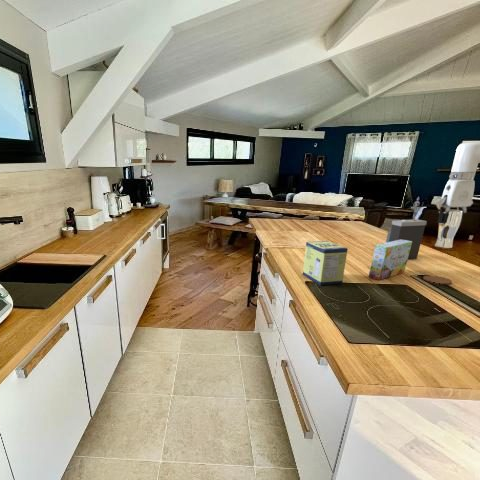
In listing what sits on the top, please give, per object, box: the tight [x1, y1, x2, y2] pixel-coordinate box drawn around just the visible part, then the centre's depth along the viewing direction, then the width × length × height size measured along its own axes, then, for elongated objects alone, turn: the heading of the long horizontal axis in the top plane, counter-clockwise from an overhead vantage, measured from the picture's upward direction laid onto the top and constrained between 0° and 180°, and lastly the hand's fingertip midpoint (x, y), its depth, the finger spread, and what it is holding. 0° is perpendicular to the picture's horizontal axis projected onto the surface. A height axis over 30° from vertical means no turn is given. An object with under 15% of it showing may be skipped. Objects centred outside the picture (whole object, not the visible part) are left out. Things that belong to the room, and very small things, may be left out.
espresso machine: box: [385, 218, 428, 260], centre depth 166 cm, size 9×14×21 cm, turn 100°
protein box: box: [302, 240, 348, 286], centre depth 136 cm, size 10×16×16 cm
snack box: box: [368, 240, 412, 281], centre depth 140 cm, size 21×6×15 cm, turn 122°
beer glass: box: [433, 209, 463, 249], centre depth 130 cm, size 7×7×15 cm
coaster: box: [422, 275, 453, 286], centre depth 135 cm, size 10×10×1 cm
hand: (449, 222), depth 129 cm, fingers closed on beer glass, 7 cm apart
